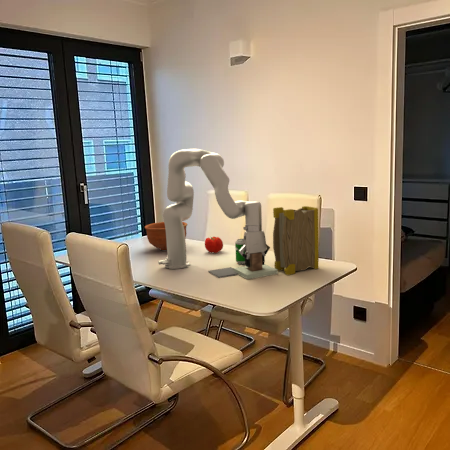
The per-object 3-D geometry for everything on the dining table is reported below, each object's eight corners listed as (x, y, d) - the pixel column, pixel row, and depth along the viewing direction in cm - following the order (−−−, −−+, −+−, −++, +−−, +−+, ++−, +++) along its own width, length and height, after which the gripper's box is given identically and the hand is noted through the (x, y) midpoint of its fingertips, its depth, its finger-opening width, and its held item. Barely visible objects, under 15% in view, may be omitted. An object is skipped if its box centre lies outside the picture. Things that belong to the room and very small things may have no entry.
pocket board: (247, 279, 212) (247, 275, 212) (233, 272, 225) (233, 268, 225) (277, 273, 219) (277, 269, 219) (262, 267, 232) (262, 263, 231)
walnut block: (253, 275, 219) (252, 254, 217) (248, 272, 223) (247, 252, 222) (262, 273, 221) (261, 252, 219) (257, 271, 225) (256, 250, 224)
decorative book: (307, 264, 234) (306, 203, 228) (320, 269, 224) (320, 206, 219) (272, 270, 225) (270, 208, 220) (285, 275, 215) (283, 210, 210)
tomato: (206, 255, 261) (206, 240, 259) (203, 251, 271) (202, 236, 270) (225, 253, 263) (224, 238, 262) (221, 249, 274) (220, 234, 272)
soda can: (252, 261, 243) (252, 238, 241) (247, 265, 237) (246, 241, 235) (239, 260, 246) (238, 238, 244) (233, 264, 240) (232, 241, 238)
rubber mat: (218, 278, 216) (218, 276, 216) (208, 272, 227) (208, 270, 227) (242, 273, 221) (241, 272, 221) (230, 268, 232) (230, 267, 232)
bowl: (179, 255, 264) (177, 228, 262) (138, 253, 271) (136, 228, 269) (194, 245, 288) (193, 221, 285) (156, 244, 295) (155, 220, 292)
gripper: (240, 231, 211) (242, 270, 214) (274, 227, 219) (275, 264, 222) (233, 229, 218) (234, 266, 221) (266, 224, 225) (267, 261, 228)
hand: (255, 265), depth 221 cm, fingers open, 6 cm apart
